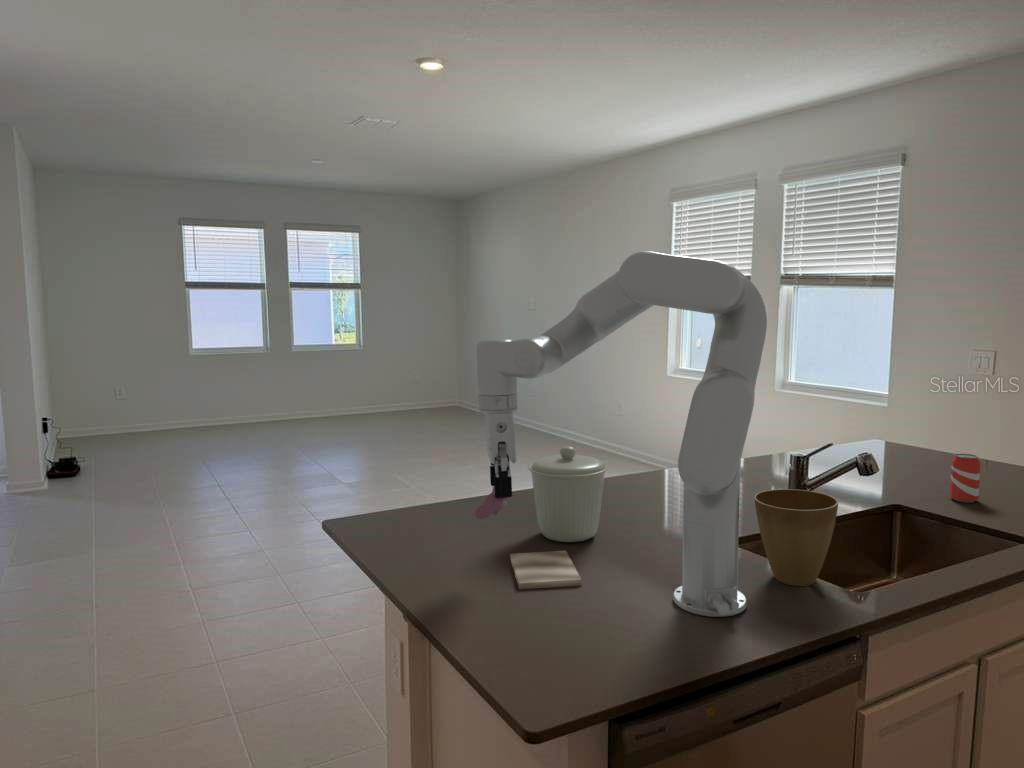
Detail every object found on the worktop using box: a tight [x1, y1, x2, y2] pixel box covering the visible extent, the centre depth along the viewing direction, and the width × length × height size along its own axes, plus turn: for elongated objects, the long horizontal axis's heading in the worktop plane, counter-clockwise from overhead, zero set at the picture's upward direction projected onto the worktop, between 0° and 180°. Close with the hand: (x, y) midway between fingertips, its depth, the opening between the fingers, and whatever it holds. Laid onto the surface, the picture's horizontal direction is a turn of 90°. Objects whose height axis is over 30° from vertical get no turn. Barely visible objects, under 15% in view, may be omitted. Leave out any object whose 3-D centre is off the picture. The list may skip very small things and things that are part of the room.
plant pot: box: [753, 488, 839, 587], centre depth 136 cm, size 15×15×16 cm
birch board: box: [509, 550, 582, 590], centre depth 142 cm, size 16×12×1 cm
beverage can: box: [949, 453, 981, 504], centre depth 186 cm, size 6×6×12 cm
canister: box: [528, 445, 608, 543], centre depth 163 cm, size 18×18×21 cm
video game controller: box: [475, 486, 508, 520], centre depth 138 cm, size 10×5×7 cm, turn 169°
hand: (501, 490), depth 138 cm, fingers closed on video game controller, 8 cm apart
